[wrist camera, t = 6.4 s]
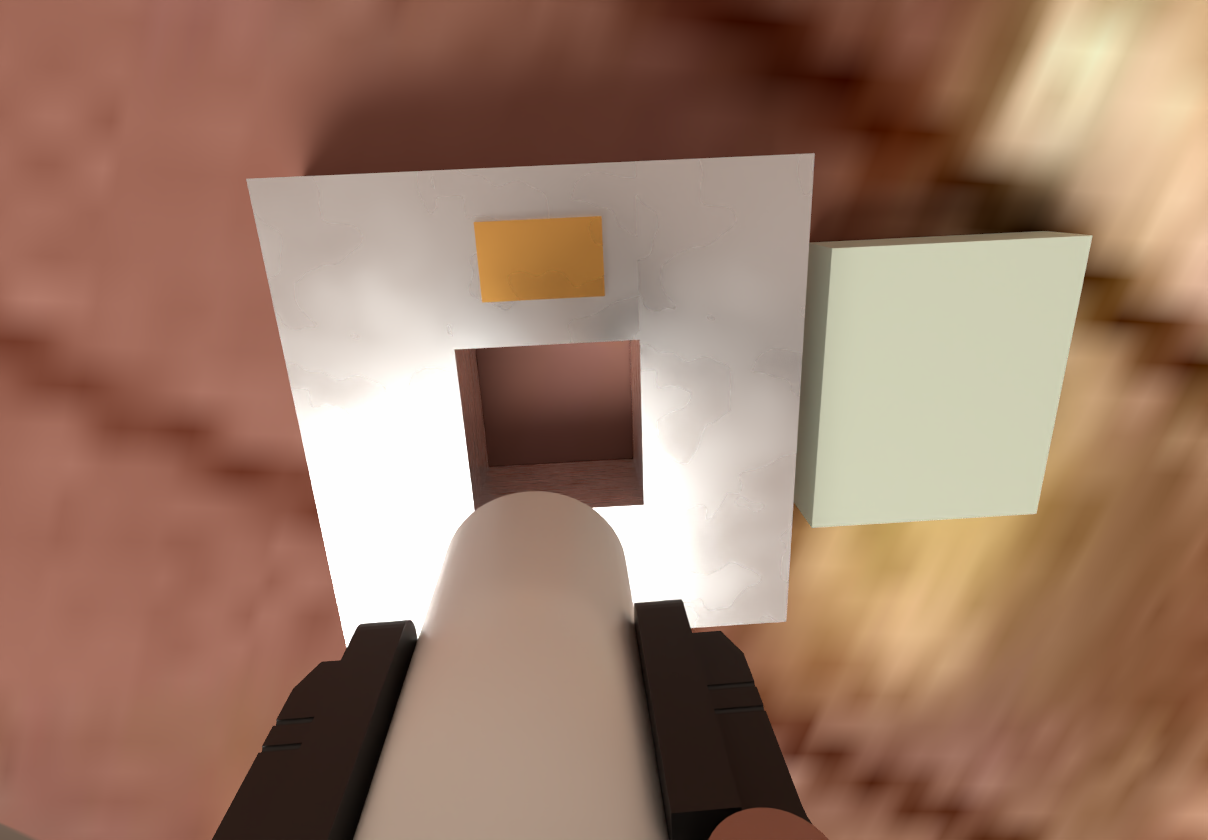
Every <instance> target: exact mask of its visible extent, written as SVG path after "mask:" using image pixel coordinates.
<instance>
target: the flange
mask: <svg viewBox="0 0 1208 840" xmlns="http://www.w3.org/2000/svg"><path fill="white" fill-rule="evenodd" d="M814 157H815V153H810V154H788V155H766V156H744V157H722V158H699V159H677V160H655V161H633V162H611V163H589V164H566V165H544V166H522V167H500V168H478V169H456V170H433V171H411V172H389V173H367V174H345V175H323V176H300V177H278V178H256V179H246V180H247V184H248V189H249V194H250V198H251V203H252V208H253V212H254V217H255V222H256V226H257V231H258V236H259V240H260V245H261V250H262V254H263V259H264V264H265V268H266V273H267V278H268V282H269V287H270V292H271V296H272V301H273V306H274V310H275V315H276V320H277V324H278V329H279V334H280V338H281V343H282V348H283V352H284V357H285V362H286V366H287V371H288V376H289V380H290V385H291V390H292V394H293V399H294V404H295V408H296V413H297V418H298V422H299V427H300V432H301V436H302V441H303V446H304V450H305V455H306V460H307V464H308V469H309V474H310V478H311V483H312V488H313V492H314V497H315V502H316V506H317V511H318V515H319V520H320V525H321V529H322V534H323V539H324V543H325V548H326V553H327V557H328V562H329V567H330V571H331V576H332V581H333V585H334V590H335V595H336V599H337V604H338V609H339V613H340V618H341V623H342V627H343V632H344V637H345V641H346V646H348V644H349V642H350V640H351V638H352V636H353V633H354V631H355V629H356V628H357V626H358V625H359V624H361V623H372V622H385V621H398V620H412V621H413V622H414V625H415V628H416V632H417V637H419V634H420V631H421V627H422V624H423V621H424V618H425V615H426V612H427V609H428V606H429V603H430V600H431V597H432V593H433V590H434V587H435V584H436V581H437V578H438V575H439V572H440V569H441V566H442V562H443V559H444V556H445V553H446V550H447V547H448V545H449V543H450V540H451V538H452V536H453V535H454V533H455V531H456V530H457V528H458V527H459V526H460V525H461V523H462V522H463V521H464V520H465V519H466V518H467V517H468V516H469V515H470V514H471V513H472V512H474V511H475V510H477V509H478V508H480V507H481V506H482V505H484V504H486V503H488V502H490V501H492V500H494V499H497V498H500V497H502V496H505V495H509V494H513V493H519V492H527V491H543V492H552V493H557V494H561V495H565V496H568V497H571V498H574V499H576V500H578V501H580V502H582V503H584V504H586V505H588V506H589V507H591V508H592V509H594V510H595V511H597V512H598V513H599V514H600V515H601V516H602V517H603V518H604V519H606V521H607V522H608V523H609V524H610V525H611V527H612V528H613V529H614V531H615V533H616V534H617V536H618V537H619V540H620V542H621V544H622V547H623V550H624V554H625V558H626V564H627V570H628V576H629V582H630V588H631V594H632V600H633V606H634V603H637V602H650V601H663V600H676V599H682V601H683V603H684V607H685V610H686V614H687V617H688V621H689V624H690V628H697V627H712V626H727V625H742V624H757V623H772V622H786V616H787V600H788V583H789V567H790V551H791V534H792V518H793V501H794V485H795V469H796V452H797V436H798V419H799V403H800V386H801V370H802V354H803V337H804V321H805V304H806V288H807V271H808V255H809V239H810V222H811V206H812V189H813V173H814ZM623 340H630V365H631V398H632V431H633V459H618V460H601V461H584V462H567V463H550V464H533V465H516V466H499V467H489V464H488V455H487V446H486V437H485V429H484V420H483V411H482V402H481V393H480V384H479V375H478V366H477V357H476V348H492V347H511V346H529V345H548V344H567V343H586V342H604V341H623Z"/></svg>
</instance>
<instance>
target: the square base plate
mask: <svg viewBox="0 0 1208 840" xmlns="http://www.w3.org/2000/svg"><path fill="white" fill-rule="evenodd" d="M1091 240H1092V235H1082V234H1072V233H1061V232H1051V231H1034V232H1013V233H993V234H973V235H952V236H932V237H912V238H892V239H871V240H851V241H831V242H810V243H809V255H808V271H807V288H806V304H805V321H804V337H803V354H802V370H801V386H800V403H799V419H798V436H797V452H796V469H795V485H794V501H793V502H794V503H795V504H796V506H797V507H798V509H799V510H800V512H801V513H802V514H803V516H804V517H805V519H806V520H807V522H808V523H809V524H810V526H811V527H812V528H816V527H832V526H848V525H864V524H880V523H896V522H912V521H928V520H944V519H960V518H976V517H992V516H1008V515H1024V514H1036V513H1037V508H1038V503H1039V498H1040V493H1041V488H1042V483H1043V478H1044V473H1045V468H1046V463H1047V458H1048V453H1049V448H1050V443H1051V438H1052V433H1053V428H1054V423H1055V419H1056V414H1057V409H1058V404H1059V399H1060V394H1061V389H1062V384H1063V379H1064V374H1065V369H1066V364H1067V359H1068V354H1069V349H1070V344H1071V339H1072V334H1073V329H1074V325H1075V320H1076V315H1077V310H1078V305H1079V300H1080V295H1081V290H1082V285H1083V280H1084V275H1085V270H1086V265H1087V260H1088V255H1089V250H1090V245H1091Z"/></svg>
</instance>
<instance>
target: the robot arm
mask: <svg viewBox="0 0 1208 840" xmlns="http://www.w3.org/2000/svg"><path fill="white" fill-rule="evenodd" d="M634 625H635V631H636V638H637V644H638V650H639V656H640V662H641V669H642V675H643V681H644V687H645V694H646V700H647V706H648V712H649V718H650V725H651V731H652V737H653V743H654V750H655V756H656V762H657V768H658V774H659V781H660V787H661V793H662V799H663V806H664V812H665V818H666V824H667V830H668V837H669V840H828V838H827V837H826V836H825V835H824V834H823V833H822V832H821V831H819V830H818V829H817V828H816V827H815V826H814V825H812V823H811V822H810V820H809V819H808V817H807V815H806V813H805V811H804V809H803V807H802V804H801V802H800V799H799V797H798V794H797V791H796V789H795V786H794V784H793V781H792V778H791V776H790V773H789V771H788V768H787V765H786V763H785V760H784V758H783V755H782V752H781V750H780V747H779V745H778V742H777V739H776V737H775V734H774V731H773V729H772V726H771V724H770V721H769V718H768V716H767V713H766V711H764V708H763V703H762V700H761V698H760V695H759V692H758V690H757V687H755V685H754V679H753V677H752V674H751V672H750V669H749V666H748V664H747V661H746V659H745V656H744V653H743V652H742V651H741V650H740V649H739V648H738V647H737V646H735V645H734V644H733V643H732V642H731V641H730V640H729V639H728V638H727V637H726V636H725V635H724V634H723V633H722V632H721V631H713V632H700V633H692V631H691V628H690V624H689V621H688V617H687V614H686V610H685V607H684V603H683V601H682V599H676V600H663V601H650V602H637V603H634ZM417 640H418V637H417V632H416V628H415V625H414V622H413V621H412V620H398V621H385V622H372V623H361V624H359V625H358V626H357V628H356V629H355V631H354V633H353V636H352V638H351V640H350V642H349V644H348V646H347V648H346V650H345V653H344V655H343V657H342V659H341V660H340V661H327V662H321V663H320V664H319V665H318V666H317V667H316V668H315V669H313V670H312V671H311V672H310V673H309V674H308V675H307V676H306V677H305V678H304V679H303V680H302V681H301V682H300V683H299V684H298V685H297V686H296V687H295V688H293V690H292V692H291V694H290V695H289V697H288V699H287V701H286V703H285V705H284V707H283V708H282V710H281V712H280V714H279V716H278V718H277V720H276V721H277V723H276V726H273V727H272V729H271V731H270V733H269V734H268V736H267V738H266V740H265V742H264V744H263V746H262V752H261V753H258V755H257V757H256V759H255V760H254V762H253V764H252V766H251V768H250V770H249V772H248V774H247V775H246V777H245V779H244V781H243V783H242V785H241V787H240V788H239V790H238V792H237V794H236V796H235V798H234V800H233V801H232V803H231V805H230V807H229V809H228V811H227V813H226V814H225V816H224V818H223V820H222V822H221V824H220V826H219V827H218V829H217V831H216V833H215V835H214V837H213V839H212V840H353V838H354V835H355V832H356V829H357V825H358V822H359V819H360V816H361V813H362V810H363V807H364V804H365V801H366V798H367V794H368V791H369V788H370V785H371V782H372V779H373V776H374V773H375V770H376V767H377V764H378V760H379V757H380V754H381V751H382V748H383V745H384V742H385V739H386V736H387V733H388V730H389V726H390V723H391V720H392V717H393V714H394V711H395V708H396V705H397V702H398V699H399V695H400V692H401V689H402V686H403V683H404V680H405V677H406V674H407V671H408V668H409V665H410V661H411V658H412V655H413V652H414V649H415V646H416V643H417Z"/></svg>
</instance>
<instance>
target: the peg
mask: <svg viewBox="0 0 1208 840" xmlns="http://www.w3.org/2000/svg"><path fill="white" fill-rule="evenodd" d="M353 840H669V837H668V830H667V824H666V818H665V812H664V806H663V799H662V793H661V787H660V781H659V774H658V768H657V762H656V756H655V750H654V743H653V737H652V731H651V725H650V718H649V712H648V706H647V700H646V694H645V687H644V681H643V675H642V669H641V662H640V656H639V650H638V644H637V638H636V631H635V625H634V606H633V600H632V594H631V588H630V582H629V576H628V570H627V564H626V558H625V554H624V550H623V547H622V544H621V542H620V540H619V537H618V536H617V534H616V533H615V531H614V529H613V528H612V527H611V525H610V524H609V523H608V522H607V521H606V519H604V518H603V517H602V516H601V515H600V514H599V513H598V512H597V511H595V510H594V509H592V508H591V507H589V506H588V505H586V504H584V503H582V502H580V501H578V500H576V499H574V498H571V497H568V496H565V495H561V494H557V493H552V492H543V491H527V492H519V493H513V494H509V495H505V496H502V497H500V498H497V499H494V500H492V501H490V502H488V503H486V504H484V505H482V506H481V507H480V508H478V509H477V510H475V511H474V512H472V513H471V514H470V515H469V516H468V517H467V518H466V519H465V520H464V521H463V522H462V523H461V525H460V526H459V527H458V528H457V530H456V531H455V533H454V535H453V536H452V538H451V540H450V543H449V545H448V547H447V550H446V553H445V556H444V559H443V562H442V566H441V569H440V572H439V575H438V578H437V581H436V584H435V587H434V590H433V593H432V597H431V600H430V603H429V606H428V609H427V612H426V615H425V618H424V621H423V624H422V627H421V631H420V634H419V637H418V640H417V643H416V646H415V649H414V652H413V655H412V658H411V661H410V665H409V668H408V671H407V674H406V677H405V680H404V683H403V686H402V689H401V692H400V695H399V699H398V702H397V705H396V708H395V711H394V714H393V717H392V720H391V723H390V726H389V730H388V733H387V736H386V739H385V742H384V745H383V748H382V751H381V754H380V757H379V760H378V764H377V767H376V770H375V773H374V776H373V779H372V782H371V785H370V788H369V791H368V794H367V798H366V801H365V804H364V807H363V810H362V813H361V816H360V819H359V822H358V825H357V829H356V832H355V835H354V838H353Z"/></svg>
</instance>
